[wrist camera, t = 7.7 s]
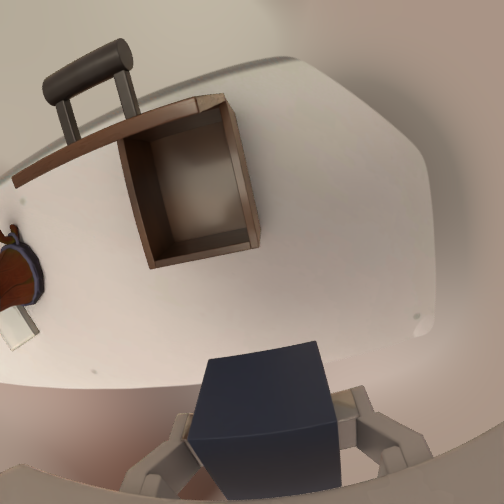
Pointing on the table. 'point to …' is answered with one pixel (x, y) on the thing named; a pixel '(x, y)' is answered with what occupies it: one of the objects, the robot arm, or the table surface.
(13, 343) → the hard drive
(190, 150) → the chest
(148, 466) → the robot arm
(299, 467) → the block
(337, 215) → the table surface
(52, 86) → the lid
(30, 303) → the mug
